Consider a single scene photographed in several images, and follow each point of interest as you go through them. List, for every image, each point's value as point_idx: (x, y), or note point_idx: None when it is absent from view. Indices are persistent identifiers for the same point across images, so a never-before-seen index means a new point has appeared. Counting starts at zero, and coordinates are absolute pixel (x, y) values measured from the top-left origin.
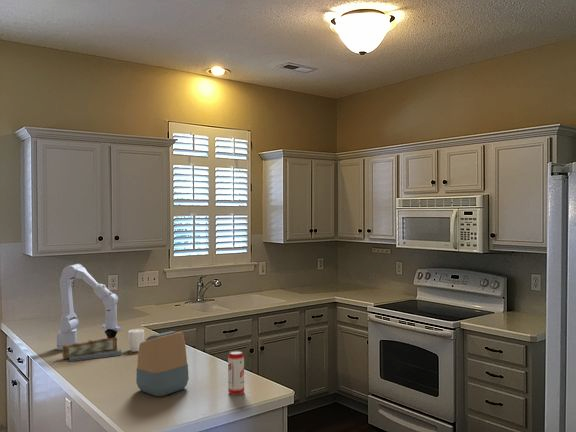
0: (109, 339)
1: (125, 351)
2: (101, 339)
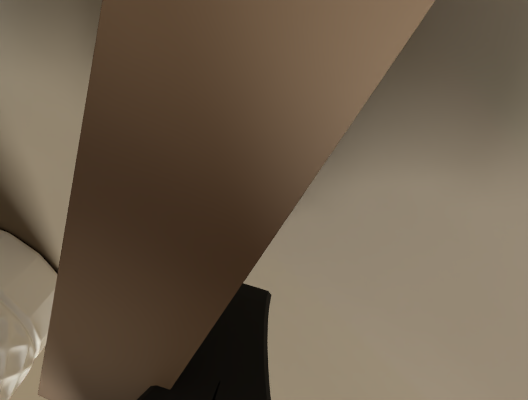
0: (58, 294)
1: (32, 206)
2: (236, 221)
